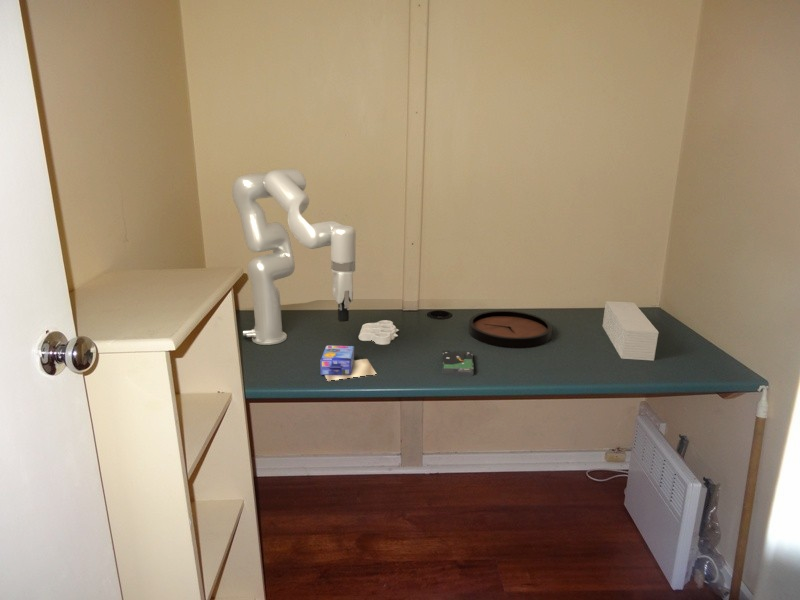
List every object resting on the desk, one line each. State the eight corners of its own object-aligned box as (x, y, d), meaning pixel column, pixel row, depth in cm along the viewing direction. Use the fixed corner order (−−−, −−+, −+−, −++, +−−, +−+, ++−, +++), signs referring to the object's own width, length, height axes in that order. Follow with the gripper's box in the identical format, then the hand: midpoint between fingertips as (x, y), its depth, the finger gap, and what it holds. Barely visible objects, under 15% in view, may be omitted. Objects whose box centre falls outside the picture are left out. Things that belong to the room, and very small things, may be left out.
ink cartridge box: (354, 344, 182) (350, 364, 169) (354, 359, 184) (350, 379, 171) (325, 344, 183) (318, 363, 169) (325, 359, 184) (319, 379, 171)
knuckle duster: (363, 327, 216) (400, 328, 215) (357, 344, 199) (397, 346, 198) (363, 319, 215) (400, 320, 214) (357, 336, 198) (397, 337, 197)
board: (327, 381, 169) (327, 380, 169) (320, 365, 181) (320, 364, 180) (376, 374, 174) (376, 374, 174) (367, 359, 185) (367, 358, 185)
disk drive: (442, 357, 189) (441, 375, 175) (442, 350, 188) (442, 367, 174) (471, 358, 188) (474, 376, 174) (472, 350, 187) (474, 368, 173)
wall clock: (568, 325, 208) (518, 346, 188) (567, 335, 209) (517, 356, 189) (502, 305, 230) (452, 322, 210) (502, 314, 231) (451, 331, 212)
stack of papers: (602, 326, 218) (605, 301, 214) (630, 328, 216) (634, 302, 213) (621, 359, 188) (625, 330, 184) (653, 361, 186) (658, 331, 183)
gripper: (326, 260, 175) (327, 313, 181) (336, 273, 161) (336, 330, 167) (349, 259, 177) (349, 311, 183) (360, 271, 164) (360, 328, 170)
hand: (343, 320), depth 175 cm, fingers closed
